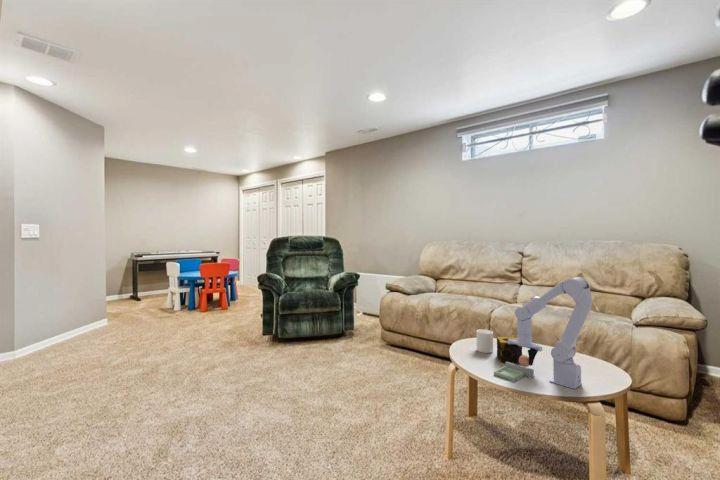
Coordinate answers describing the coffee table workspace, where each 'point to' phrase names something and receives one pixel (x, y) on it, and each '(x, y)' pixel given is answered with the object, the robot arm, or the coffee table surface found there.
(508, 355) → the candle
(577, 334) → the robot arm
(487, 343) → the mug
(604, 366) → the coffee table surface
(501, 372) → the tray
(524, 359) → the ball
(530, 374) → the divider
